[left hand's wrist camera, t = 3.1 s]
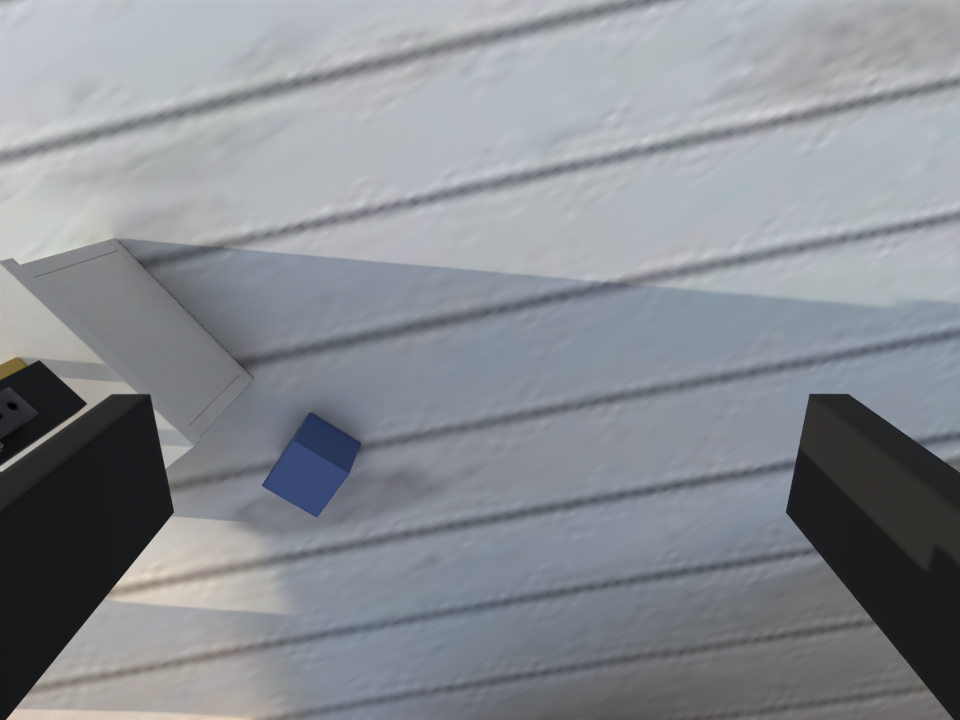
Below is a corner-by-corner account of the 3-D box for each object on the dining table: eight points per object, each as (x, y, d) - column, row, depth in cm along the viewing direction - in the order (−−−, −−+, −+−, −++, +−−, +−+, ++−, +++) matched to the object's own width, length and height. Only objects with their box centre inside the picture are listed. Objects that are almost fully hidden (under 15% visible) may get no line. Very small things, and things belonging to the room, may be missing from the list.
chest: (114, 237, 39) (0, 269, 30) (253, 378, 42) (190, 447, 33) (-50, 392, 42) (-197, 464, 33) (90, 511, 46) (-8, 606, 36)
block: (310, 412, 43) (293, 439, 39) (361, 442, 44) (349, 473, 40) (280, 454, 44) (261, 486, 40) (330, 484, 45) (316, 517, 41)
